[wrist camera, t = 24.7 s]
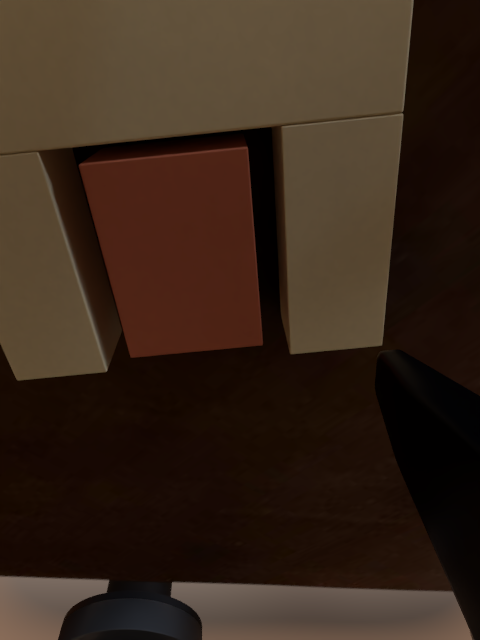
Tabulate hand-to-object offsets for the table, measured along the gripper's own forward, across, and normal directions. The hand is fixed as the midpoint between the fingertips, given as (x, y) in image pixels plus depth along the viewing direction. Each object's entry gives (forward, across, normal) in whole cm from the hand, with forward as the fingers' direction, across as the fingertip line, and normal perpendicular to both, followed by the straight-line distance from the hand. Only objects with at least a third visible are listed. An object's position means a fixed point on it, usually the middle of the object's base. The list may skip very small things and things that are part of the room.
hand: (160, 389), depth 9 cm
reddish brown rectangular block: (+9, 0, 0) cm, 9 cm away
